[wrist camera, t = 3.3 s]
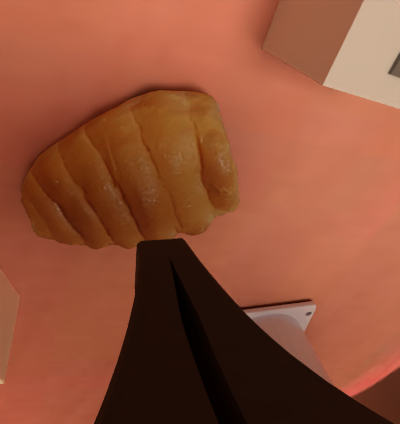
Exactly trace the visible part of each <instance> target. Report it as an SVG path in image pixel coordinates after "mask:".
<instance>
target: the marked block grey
mask: <svg viewBox="0 0 400 424" xmlns="http://www.w3.org/2000/svg"><path fill="white" fill-rule="evenodd" d="M262 49H263V50H264V51H266V52H268V53H269V54H271V55H273V56H274V57H276V58H278V59H279V60H281V61H283V62H284V63H286V64H288V65H289V66H291V67H293V68H294V69H296V70H298V71H299V72H301V73H303V74H304V75H306V76H308V77H309V78H311V79H313V80H314V81H316V82H318V83H319V84H321V85H323V86H326V87H329V88H333V89H336V90H339V91H342V92H346V93H349V94H352V95H356V96H359V97H362V98H365V99H369V100H372V101H375V102H379V103H382V104H385V105H388V106H392V107H395V108H398V109H400V0H280V1H279V4H278V6H277V9H276V12H275V14H274V17H273V20H272V22H271V25H270V28H269V30H268V33H267V36H266V38H265V41H264V44H263V46H262Z"/></svg>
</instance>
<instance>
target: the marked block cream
mask: <svg viewBox="0 0 400 424" xmlns="http://www.w3.org/2000/svg"><path fill="white" fill-rule="evenodd" d="M19 303H20V296H19V294H18V293H17V291H16V290H15V288H14V287H13V286H12V284H11V283H10V281H9V280H8V278H7V277H6V276H5V274H4V273H3V271H2V270H1V268H0V384H2V383H5V378H6V372H7V367H8V362H9V356H10V351H11V346H12V340H13V335H14V329H15V324H16V319H17V313H18V308H19Z"/></svg>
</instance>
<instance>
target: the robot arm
mask: <svg viewBox="0 0 400 424" xmlns="http://www.w3.org/2000/svg"><path fill="white" fill-rule="evenodd" d="M315 309H316V305H315V303H314V302H312V301H310V302H302V303H294V304H286V305H278V306H270V307H262V308H254V309H246V310H242V309H241V308H240V307H239V306H238V305H237V304H236V303H235V302H234V300H233V299H232V298H231V297H230V296H229V295H228V294H227V293H226V292H225V290H224V289H223V288H222V287H221V286H220V285H219V284H218V282H217V281H216V280H215V279H214V278H213V277H212V275H211V274H210V273H209V272H208V270H207V269H206V268H205V267H204V265H203V264H202V263H201V262H200V260H199V259H198V258H197V256H196V255H195V254H194V252H193V251H192V250H191V248H190V247H189V246H188V244H187V243H186V241H185V240H184V239H182V238H178V239H162V240H145V241H140V242H139V243H138V244H137V252H136V273H135V298H134V303H133V307H132V311H131V315H130V320H129V324H128V328H127V331H126V335H125V339H124V342H123V345H122V349H121V352H120V355H119V358H118V361H117V364H116V367H115V370H114V373H113V376H112V379H111V381H110V384H109V387H108V390H107V392H106V395H105V398H104V400H103V403H102V406H101V408H100V411H99V413H98V415H97V418H96V420H95V422H94V424H393V423H392V422H390V421H388V420H387V419H385V418H383V417H382V416H380V415H378V414H377V413H375V412H373V411H372V410H370V409H368V408H367V407H365V406H364V405H362V404H360V403H359V402H357V401H355V400H354V399H352V398H351V397H349V396H348V395H346V394H345V393H344V392H342V391H341V390H339V389H338V388H336V387H335V386H334V385H333V383H332V381H331V379H330V377H329V376H328V374H327V372H326V370H325V369H324V367H323V365H322V363H321V361H320V360H319V358H318V356H317V354H316V353H315V351H314V349H313V347H312V345H311V344H310V342H309V340H308V338H307V336H306V335H305V333H304V331H305V329H306V327H307V325H308V323H309V321H310V319H311V317H312V315H313V313H314V311H315Z"/></svg>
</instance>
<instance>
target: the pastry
mask: <svg viewBox="0 0 400 424" xmlns="http://www.w3.org/2000/svg"><path fill="white" fill-rule="evenodd" d="M21 193H22V198H21V201H22V204H23V206H24V208H25V210H26V212H27V214H28V216H29V218H30V220H31V225H32V228H33V230H34V232H35V233H36V234H37V235H38V236H39V237H43V238H46V239H52V240H55V241H57V242H59V243H64V244H70V245H86V246H89V247H90V248H92V249H99V248H102V247H105V246H108V245H113V244H114V245H119V246H121V247H124V248H126V249H130V248H133V247H135V246H137V244H138V243H139V242H140V241H145V240H162V239H173V238H174V237H175V235H176V234H177V233H185V234H188V235H198V234H200V233H203V232H205V231H206V230H207V228H208V227H209V225H210V224H211V222H212V220H213V219H214V218H215V217H216V216H220V215H223V214H225V213H227V212H234V211H235V210H236V209H237V207H238V205H239V201H240V200H239V186H238V177H237V168H236V165H235V162H234V159H233V157H232V156H231V153H230V143H229V140H228V138H227V135H226V132H225V128H224V124H223V121H222V117H221V114H220V108H219V104H218V103H217V101H216V100H215V99H214V98H213V97H212V96H210V95H208V94H206V93H202V92H196V91H173V90H157V91H152V92H149V93H146V94H143V95H140V96H137V97H133V98H130V99H128V100H127V101H125V102H124V103H122V104H120V105H119V106H117V107H115V108H112V109H110V110H108V111H107V112H105V113H103V114H101V115H99V116H97V117H95V118H93V119H92V120H90V121H89V122H87V123H86V124H84V125H83V126H81V127H79V128H78V129H76V130H75V131H74V132H72V133H71V134H69V135H68V136H66V137H65V138H63V139H62V140H60V141H59V142H57V143H56V144H54V145H52V146H51V147H49V148H48V149H47V150H45V151H44V152H43V153H42V154H40V155H39V157H38V158H37V159H36V161H35V162H34V164H33V165H32V167H31V168H30V170H29V171H28V173H27V175H26V177H25V180H24V182H23V184H22V187H21Z"/></svg>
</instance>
